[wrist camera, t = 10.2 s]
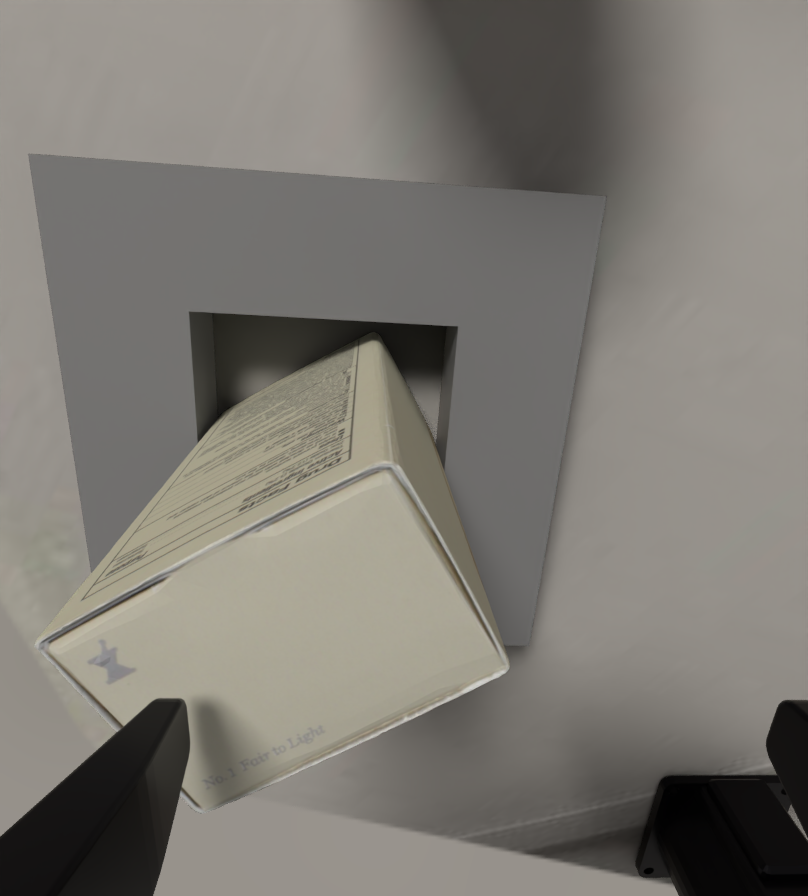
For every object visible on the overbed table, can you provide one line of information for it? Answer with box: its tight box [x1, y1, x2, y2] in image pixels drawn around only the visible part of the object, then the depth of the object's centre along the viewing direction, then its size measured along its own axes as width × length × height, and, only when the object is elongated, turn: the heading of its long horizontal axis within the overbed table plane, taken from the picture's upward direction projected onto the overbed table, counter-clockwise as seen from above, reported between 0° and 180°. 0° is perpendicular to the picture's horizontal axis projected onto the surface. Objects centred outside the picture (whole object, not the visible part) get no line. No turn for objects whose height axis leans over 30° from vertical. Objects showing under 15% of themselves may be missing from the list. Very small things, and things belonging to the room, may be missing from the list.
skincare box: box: [35, 332, 510, 814], centre depth 14 cm, size 6×4×12 cm
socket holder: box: [28, 154, 607, 646], centre depth 19 cm, size 15×15×2 cm
